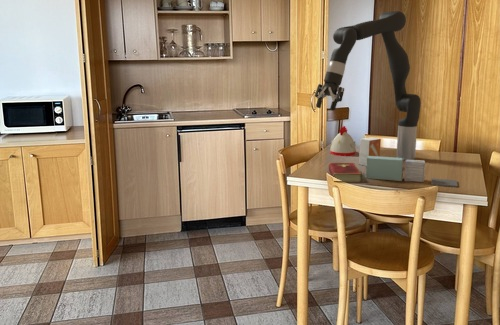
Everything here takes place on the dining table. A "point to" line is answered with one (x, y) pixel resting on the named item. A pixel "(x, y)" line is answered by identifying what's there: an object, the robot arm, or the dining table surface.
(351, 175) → the hardcover book
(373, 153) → the small box
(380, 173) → the block
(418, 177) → the grey upright block
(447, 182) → the rubber mat
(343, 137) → the cream red beanie hat
